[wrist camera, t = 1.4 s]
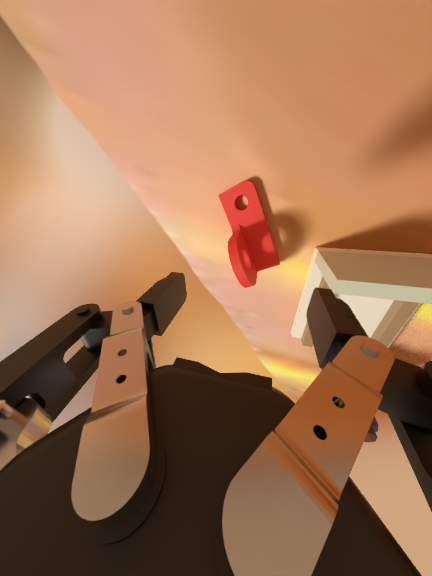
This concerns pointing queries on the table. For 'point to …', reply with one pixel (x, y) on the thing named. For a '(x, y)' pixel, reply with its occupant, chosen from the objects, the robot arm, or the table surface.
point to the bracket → (248, 235)
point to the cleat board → (369, 288)
